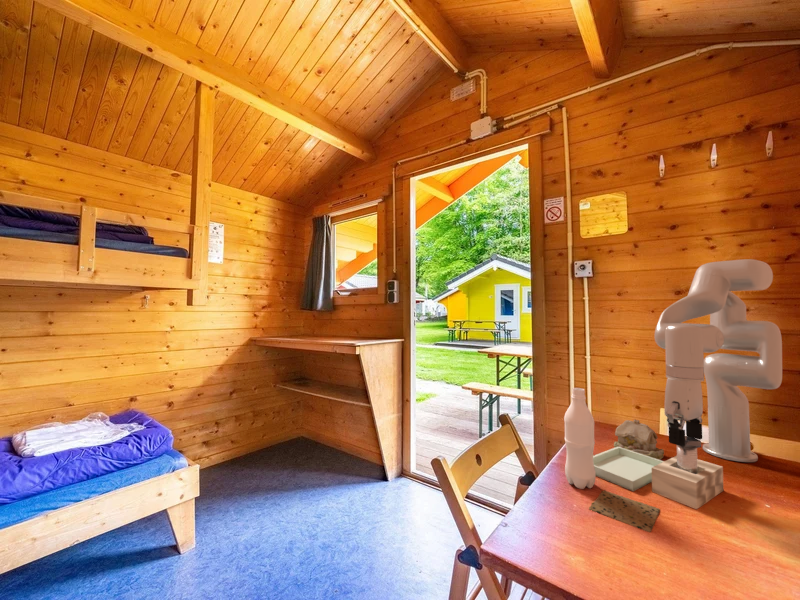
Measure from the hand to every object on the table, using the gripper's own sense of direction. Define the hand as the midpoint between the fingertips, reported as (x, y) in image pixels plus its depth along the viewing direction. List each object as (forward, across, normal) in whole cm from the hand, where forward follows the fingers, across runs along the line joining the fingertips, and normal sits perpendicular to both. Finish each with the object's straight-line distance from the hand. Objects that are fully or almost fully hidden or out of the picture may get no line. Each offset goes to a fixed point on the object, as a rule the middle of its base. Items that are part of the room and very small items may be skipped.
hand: (685, 441), depth 87 cm
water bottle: (+13, +19, -16) cm, 28 cm away
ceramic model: (+13, -17, -19) cm, 29 cm away
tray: (+13, +1, -14) cm, 19 cm away
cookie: (+14, +21, -4) cm, 26 cm away
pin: (+13, -1, 0) cm, 13 cm away
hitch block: (+13, -1, 0) cm, 13 cm away
